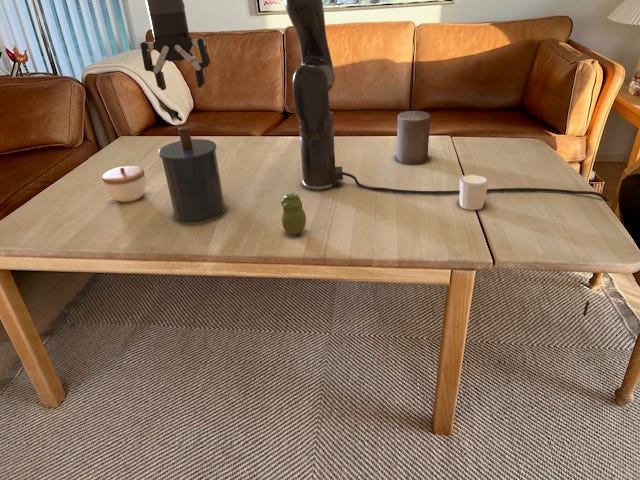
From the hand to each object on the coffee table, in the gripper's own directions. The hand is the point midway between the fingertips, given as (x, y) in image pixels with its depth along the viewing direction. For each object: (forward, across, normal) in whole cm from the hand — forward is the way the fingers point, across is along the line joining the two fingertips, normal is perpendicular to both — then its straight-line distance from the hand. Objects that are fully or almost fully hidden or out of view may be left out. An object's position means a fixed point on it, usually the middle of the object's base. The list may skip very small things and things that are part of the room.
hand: (182, 88), depth 110 cm
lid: (+14, -1, -2) cm, 14 cm away
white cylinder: (+32, +68, -6) cm, 75 cm away
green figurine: (+32, +23, -16) cm, 42 cm away
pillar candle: (+32, +59, +28) cm, 73 cm away
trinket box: (+31, -23, +9) cm, 40 cm away
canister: (+31, -1, -2) cm, 31 cm away
